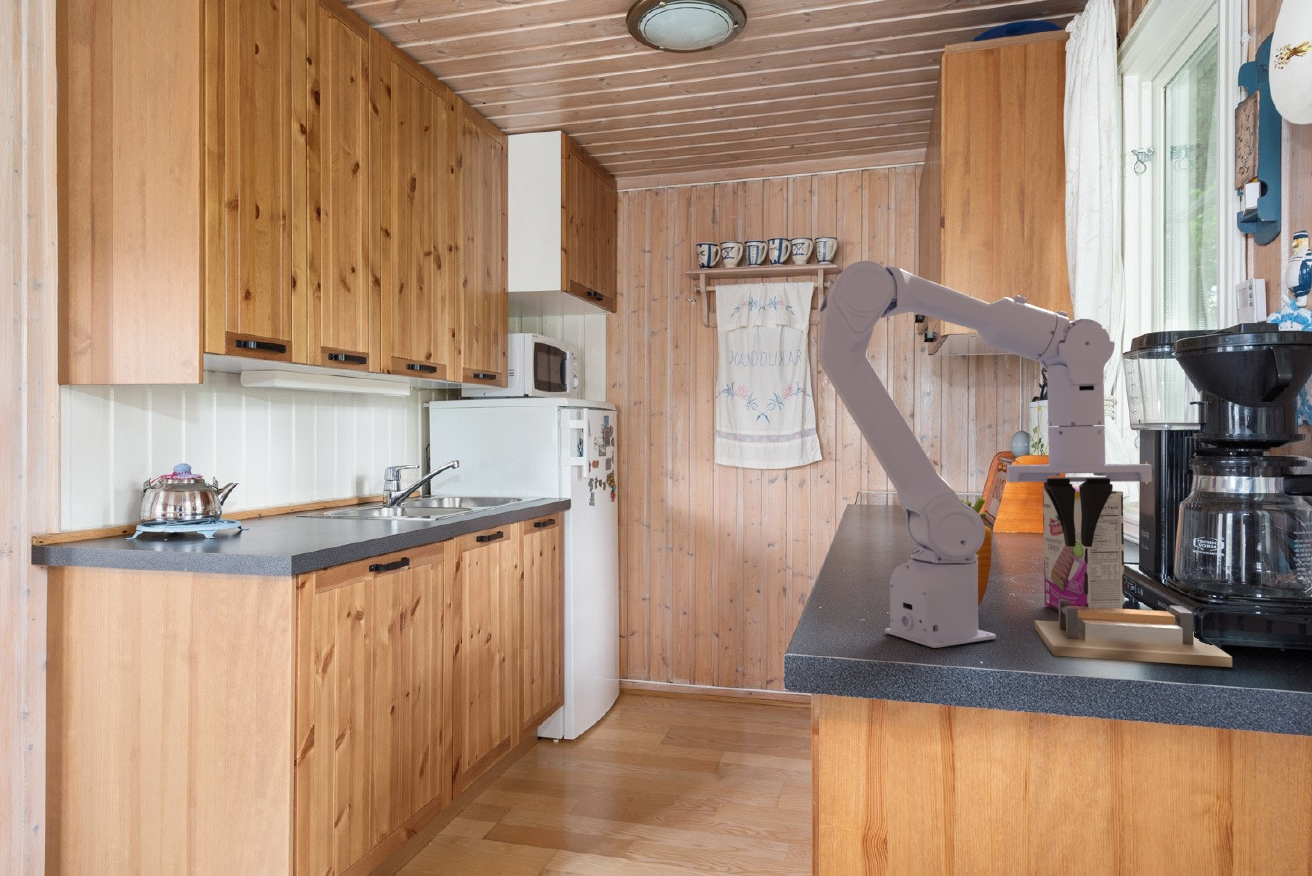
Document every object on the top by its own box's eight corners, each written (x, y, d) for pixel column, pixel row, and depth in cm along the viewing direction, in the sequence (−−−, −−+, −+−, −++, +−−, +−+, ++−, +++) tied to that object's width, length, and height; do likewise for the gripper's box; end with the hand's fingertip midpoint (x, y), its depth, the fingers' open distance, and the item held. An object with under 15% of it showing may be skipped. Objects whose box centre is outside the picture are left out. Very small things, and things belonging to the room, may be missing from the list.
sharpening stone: (1069, 641, 85) (1069, 610, 85) (1057, 626, 92) (1056, 597, 92) (1199, 649, 81) (1199, 616, 81) (1176, 632, 88) (1176, 603, 88)
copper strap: (1065, 617, 87) (1065, 609, 87) (1061, 613, 89) (1061, 605, 89) (1175, 624, 84) (1175, 615, 84) (1167, 619, 86) (1167, 610, 86)
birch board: (1053, 655, 83) (1053, 645, 83) (1034, 628, 94) (1034, 620, 94) (1232, 667, 78) (1232, 657, 78) (1189, 637, 90) (1189, 628, 90)
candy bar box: (1041, 606, 107) (1040, 484, 107) (1078, 606, 107) (1077, 484, 107) (1085, 626, 96) (1084, 490, 96) (1127, 626, 96) (1126, 489, 96)
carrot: (947, 607, 107) (947, 495, 107) (985, 607, 107) (984, 495, 106) (960, 615, 102) (959, 498, 102) (1000, 615, 102) (999, 498, 102)
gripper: (1137, 425, 92) (1140, 542, 92) (1002, 428, 96) (1004, 539, 96) (1156, 424, 85) (1159, 550, 85) (1010, 427, 90) (1012, 548, 90)
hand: (1078, 545), depth 90 cm, fingers closed
